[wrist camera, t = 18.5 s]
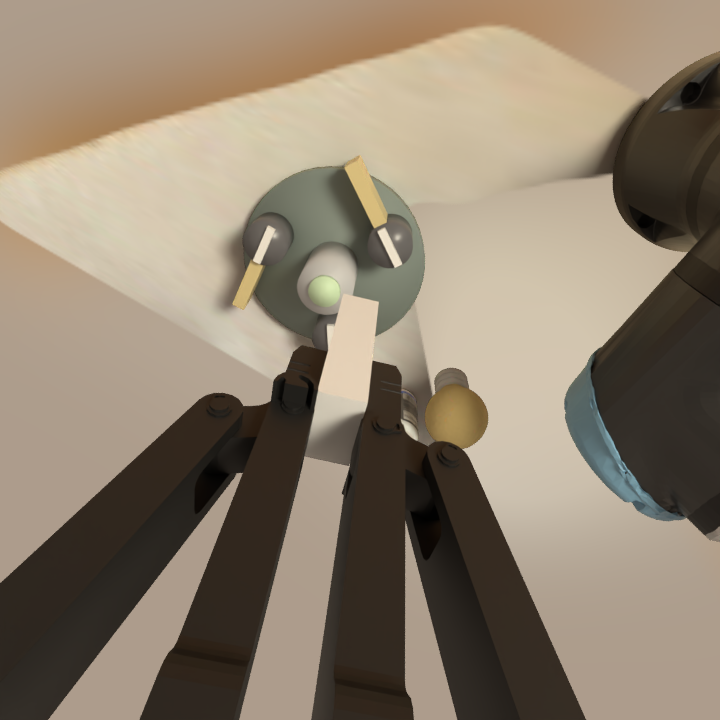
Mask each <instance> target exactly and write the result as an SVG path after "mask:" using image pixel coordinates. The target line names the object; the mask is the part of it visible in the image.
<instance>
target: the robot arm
mask: <svg viewBox="0 0 720 720" xmlns="http://www.w3.org/2000/svg"><path fill="white" fill-rule="evenodd" d="M613 193H614V198H615V202H616V205H617V208H618V210H619V213H620V214H621V216H622V218H623V219H624V221H625V222H626V223H627V224H628V225H629V226H630V227H631V228H632V229H633V230H634V231H635V232H637V233H638V234H640V235H641V236H642V237H644V238H645V239H646V240H648V241H650V242H652V243H653V244H655V245H658V246H660V247H663V248H666V249H669V250H674V251H681V252H688V253H687V254H686V256H685V257H684V258H683V259H682V260H681V261H680V262H679V263H678V264H677V266H676V267H675V268H674V269H672V270H671V271H670V273H669V274H668V275H667V276H666V277H665V278H664V279H663V280H662V282H660V284H659V285H658V286H657V287H656V288H655V289H654V290H653V292H651V294H650V295H649V296H648V297H647V298H646V299H645V300H644V302H643V303H642V304H641V305H640V306H639V307H638V308H637V309H636V310H635V312H634V313H633V314H632V315H631V316H630V317H629V318H628V319H627V320H626V322H625V323H624V324H623V325H622V326H621V327H620V328H619V329H618V330H617V331H616V332H615V334H614V335H613V336H612V337H611V338H610V339H609V340H608V341H607V342H606V343H605V344H604V345H603V347H601V348H599V349H598V350H596V351H595V352H594V353H593V354H592V355H591V357H590V358H589V360H588V363H587V365H586V367H585V368H584V369H583V370H582V372H581V373H580V374H579V375H578V377H577V378H576V379H575V380H574V382H573V383H572V384H571V385H570V387H569V389H568V391H567V393H566V397H565V403H564V404H565V412H566V414H565V419H566V423H567V426H568V429H569V432H570V434H571V437H572V439H573V441H574V443H575V444H576V447H577V448H578V450H579V451H580V453H581V455H582V456H583V458H584V459H585V461H586V462H587V463H588V465H589V466H590V467H591V469H592V470H593V471H594V473H595V474H596V475H597V476H598V477H599V478H600V479H601V480H602V482H603V483H604V484H605V485H606V486H607V487H608V488H609V489H610V490H611V491H613V492H614V493H615V494H616V495H617V496H618V497H620V498H621V499H622V500H623V501H624V502H632V503H633V505H634V506H635V508H636V509H637V511H639V512H641V513H642V514H644V515H646V516H649V517H651V518H654V519H657V520H662V521H673V520H683V519H685V518H688V519H689V520H690V521H691V522H692V523H693V524H694V525H695V526H696V527H697V528H698V529H699V530H700V531H701V532H702V533H703V534H704V535H705V536H706V537H707V538H708V539H709V540H712V541H717V542H720V51H719V52H716V53H714V54H711V55H709V56H707V57H704V58H702V59H700V60H698V61H696V62H694V63H693V64H691V65H689V66H688V67H686V68H685V69H683V70H681V71H680V72H679V73H677V74H676V75H675V76H673V77H672V78H671V79H669V80H668V81H667V82H666V83H665V84H663V85H662V87H660V88H659V89H658V90H657V91H656V92H655V93H654V94H653V95H652V96H651V97H650V98H649V100H648V101H647V102H646V103H645V104H644V105H643V107H642V108H641V109H640V111H639V112H638V113H637V115H636V116H635V118H634V119H633V121H632V122H631V124H630V126H629V128H628V129H627V131H626V133H625V135H624V137H623V140H622V142H621V144H620V147H619V150H618V153H617V156H616V160H615V165H614V171H613ZM378 305H379V302H377V301H373V300H369V299H365V298H360V297H356V296H352V295H348V294H343V297H342V300H341V304H340V308H339V312H338V315H337V319H336V323H335V327H334V330H333V334H332V338H331V342H330V345H329V349H328V351H324V350H319V349H315V348H311V347H306V346H301V347H299V348H298V349H297V350H295V351H294V352H293V354H292V357H291V359H290V362H289V365H288V367H287V370H286V372H284V373H282V374H280V375H278V376H277V377H276V378H275V379H274V382H273V391H272V397H271V401H270V402H268V403H266V404H263V405H259V406H243V405H242V403H241V402H240V400H239V399H238V398H236V397H234V396H233V395H229V394H225V393H213V394H209V395H206V396H204V397H203V398H201V399H199V400H198V401H197V402H196V403H195V404H194V405H193V406H192V407H191V408H190V409H189V410H187V411H186V412H185V413H184V414H183V415H182V416H181V417H180V418H179V419H178V420H177V421H176V422H175V423H173V424H172V425H171V426H170V427H169V428H168V429H167V430H166V431H165V432H164V433H163V434H161V436H159V437H158V438H157V439H156V440H155V441H154V442H153V443H152V444H151V445H150V446H148V447H147V448H146V449H145V450H144V451H143V452H142V453H141V454H140V455H139V456H138V457H137V458H136V459H134V460H133V461H132V462H131V463H130V464H129V465H128V466H127V467H126V468H125V469H124V470H122V472H121V473H119V474H118V475H117V476H116V477H115V478H114V479H113V480H112V481H111V482H109V483H108V485H106V486H105V487H104V488H103V489H102V490H101V491H100V492H99V493H98V494H96V495H95V496H94V497H93V498H92V499H91V500H90V501H89V502H88V503H87V504H86V505H85V506H84V507H82V508H81V509H80V510H79V511H78V512H77V513H76V514H75V515H74V516H73V517H72V518H71V519H69V520H68V521H67V522H66V523H65V524H64V525H63V526H62V527H61V528H60V529H59V530H58V531H56V532H55V533H54V534H53V535H52V536H51V537H50V538H49V539H48V540H47V541H46V542H44V544H42V545H41V546H40V547H39V548H38V549H37V550H36V551H35V552H34V553H33V554H32V555H30V556H29V557H28V558H27V559H26V560H25V561H24V562H23V563H22V564H21V565H20V566H18V567H17V568H16V569H15V570H14V571H13V572H12V573H11V574H10V575H9V576H8V577H7V578H6V579H4V580H3V581H2V582H1V583H0V720H48V719H49V718H50V716H51V715H52V714H53V712H54V711H55V710H56V709H57V707H58V706H59V704H60V703H61V702H62V701H63V699H64V698H65V697H66V696H67V694H68V693H69V692H70V690H71V689H72V688H73V686H74V685H75V684H76V682H77V681H78V680H79V679H80V677H81V676H82V675H83V674H84V672H85V671H86V670H87V668H88V667H89V666H90V664H91V663H92V662H93V661H94V659H95V658H96V657H97V655H98V654H99V653H100V651H101V650H102V649H103V648H104V646H105V645H106V644H107V642H108V641H109V640H110V638H111V637H112V636H113V634H114V633H115V632H116V631H117V629H118V628H119V627H120V625H121V624H122V623H123V622H124V620H125V619H126V618H127V616H128V615H129V614H130V613H131V611H132V610H133V609H134V607H135V606H136V605H137V603H138V602H139V601H140V600H141V598H142V597H143V596H144V594H145V593H146V592H147V590H148V589H149V588H150V587H151V585H152V584H153V583H154V581H155V580H156V579H157V577H158V576H159V575H160V574H161V572H162V571H163V570H164V568H165V567H166V566H167V564H168V563H169V562H170V560H171V559H172V558H173V557H174V555H175V554H176V553H177V551H178V550H179V549H180V548H181V546H182V545H183V544H184V542H185V541H186V540H187V538H188V537H189V536H190V535H191V533H192V532H193V531H194V529H195V528H196V527H197V525H198V524H199V523H200V522H201V520H202V519H203V518H204V516H205V515H206V514H207V513H208V511H209V510H210V509H211V507H212V506H213V505H214V503H215V502H216V501H217V500H218V498H219V497H220V495H221V494H222V493H223V492H224V490H225V489H226V488H227V487H228V485H229V484H230V482H231V481H232V480H233V479H234V477H235V475H236V473H243V474H242V477H241V479H240V482H239V485H238V487H237V490H236V492H235V495H234V497H233V500H232V502H231V505H230V508H229V510H228V513H227V515H226V518H225V521H224V523H223V526H222V528H221V531H220V533H219V536H218V538H217V541H216V544H215V546H214V549H213V551H212V554H211V557H210V559H209V561H208V564H207V567H206V569H205V572H204V574H203V577H202V579H201V582H200V584H199V587H198V590H197V592H196V595H195V597H194V600H193V602H192V605H191V608H190V610H189V613H188V615H187V618H186V621H185V623H184V626H183V628H182V631H181V633H180V636H179V638H178V641H177V643H176V644H175V646H174V648H173V649H172V650H171V651H170V652H169V653H168V655H167V656H166V658H165V660H164V662H163V664H162V666H161V668H160V671H159V673H158V675H157V677H156V680H155V682H154V685H153V688H152V690H151V692H150V695H149V697H148V700H147V702H146V705H145V707H144V710H143V712H142V715H141V717H140V720H239V718H240V713H241V709H242V705H243V701H244V697H245V693H246V689H247V685H248V681H249V677H250V673H251V669H252V665H253V661H254V657H255V653H256V649H257V645H258V641H259V637H260V633H261V629H262V625H263V621H264V617H265V613H266V609H267V605H268V601H269V597H270V593H271V589H272V585H273V581H274V577H275V573H276V569H277V565H278V561H279V557H280V553H281V549H282V545H283V541H284V537H285V533H286V529H287V525H288V521H289V517H290V513H291V509H292V505H293V501H294V497H295V493H296V489H297V485H298V481H299V477H300V473H301V469H302V464H303V460H304V456H306V457H310V458H315V459H320V460H324V461H329V462H333V463H338V464H342V465H347V466H349V464H350V468H349V471H348V475H347V478H346V482H345V485H344V489H343V491H342V494H343V495H344V498H343V505H342V513H341V519H340V526H339V533H338V539H337V547H336V554H335V560H334V567H333V574H332V581H331V588H330V595H329V602H328V609H327V615H326V623H325V630H324V636H323V644H322V650H321V657H320V664H319V671H318V678H317V685H316V692H315V698H314V706H313V712H312V719H311V720H414V717H413V706H412V702H411V698H410V697H409V695H408V694H407V692H406V688H405V520H406V524H407V527H408V532H409V535H410V539H411V543H412V547H413V551H414V555H415V558H416V562H417V566H418V570H419V574H420V578H421V582H422V585H423V589H424V593H425V597H426V600H427V604H428V608H429V612H430V616H431V620H432V624H433V627H434V631H435V635H436V639H437V643H438V646H439V650H440V654H441V658H442V662H443V666H444V670H445V674H446V677H447V681H448V685H449V689H450V693H451V696H452V700H453V704H454V708H455V712H456V716H457V720H586V719H585V716H584V714H583V712H582V710H581V707H580V705H579V703H578V701H577V698H576V696H575V694H574V692H573V690H572V687H571V685H570V683H569V681H568V678H567V676H566V674H565V672H564V670H563V667H562V665H561V663H560V660H559V658H558V656H557V654H556V651H555V650H554V647H553V645H552V642H551V640H550V638H549V636H548V633H547V631H546V629H545V627H544V625H543V622H542V620H541V618H540V616H539V613H538V611H537V609H536V607H535V604H534V602H533V600H532V598H531V595H530V593H529V591H528V589H527V586H526V584H525V582H524V580H523V577H522V576H521V573H520V571H519V569H518V566H517V564H516V562H515V560H514V557H513V555H512V553H511V551H510V548H509V546H508V544H507V542H506V539H505V537H504V535H503V533H502V530H501V528H500V526H499V524H498V521H497V519H496V517H495V515H494V512H493V511H492V508H491V506H490V504H489V501H488V499H487V497H486V495H485V492H484V490H483V488H482V486H481V483H480V481H479V479H478V477H477V474H476V472H475V470H474V468H473V465H472V463H471V461H470V459H469V457H468V456H467V454H466V453H465V452H464V451H463V450H462V449H461V448H460V447H459V446H457V445H455V444H453V443H451V442H446V441H437V442H434V443H432V444H430V445H429V447H428V446H426V445H424V444H422V443H420V442H418V441H416V440H415V439H413V438H412V437H410V436H409V435H408V434H407V433H406V431H405V428H404V425H403V424H402V422H401V382H402V376H401V374H400V372H399V370H398V369H397V367H396V366H393V365H389V364H384V363H380V362H376V361H372V360H373V350H374V341H375V332H376V323H377V314H378Z"/></svg>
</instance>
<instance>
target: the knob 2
mask: <svg viewBox="0 0 720 720" xmlns="http://www.w3.org/2000/svg"><path fill="white" fill-rule="evenodd" d="M337 315H338V313H336V314H331V315H323V314H320V315H319V317H318V320H317V323H316V326H315V328H314V331H313V335H312V341H313V344H314V346H315V348H316V349H319V350H324V351H328V349H329V345H330V342H331V338H332V334H333V330H334V327H335V323H336V319H337Z"/></svg>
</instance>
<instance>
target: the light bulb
mask: <svg viewBox="0 0 720 720" xmlns="http://www.w3.org/2000/svg"><path fill="white" fill-rule="evenodd" d="M435 391H436V392H435V393H436V394H435V395H434V396H433V397H432V398H431V399H430V401H429V402H428V405H427V407H426V411H425V423H426V427H427V430H428V432H429V434H430V435H431V436H432V438H433V439H434V440H436V441H446V442H451V443H453V444H455V445H457V446H459V447H460V448H461V449H464V448H468V447H470V446H471V445H473V444H474V443H476V442H477V441H478V440H479V439H480V438H481V437H482V436H483V434H484V432H485V430H486V427H487V424H488V412H487V409H486V406H485V404H484V402H483V401H482V399H481V398H480V397H479V396H478V395H477V394H476V393H474V392H473V391H471V390H470V389H469V385H468V381H467V377H466V375H465V373H463V372H462V371H461V370H459V369H456V368H447V369H444V370H442V371H440V372H439V373H438V374H437V376H436V378H435Z"/></svg>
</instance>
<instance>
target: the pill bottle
mask: <svg viewBox="0 0 720 720" xmlns="http://www.w3.org/2000/svg"><path fill="white" fill-rule="evenodd" d="M401 422H402V424H403V425H404V428H405V431H406V433H407V434H408V435H409V436H410V437H412V438H413V439H415V440H416V441H417V440H418V419H417V402H416V399H415V397H414V396H413V394H411V393H410V392H409V391H407V390H404V389H401Z"/></svg>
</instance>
